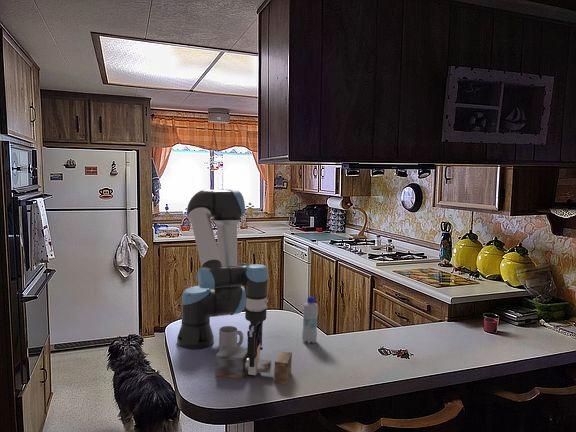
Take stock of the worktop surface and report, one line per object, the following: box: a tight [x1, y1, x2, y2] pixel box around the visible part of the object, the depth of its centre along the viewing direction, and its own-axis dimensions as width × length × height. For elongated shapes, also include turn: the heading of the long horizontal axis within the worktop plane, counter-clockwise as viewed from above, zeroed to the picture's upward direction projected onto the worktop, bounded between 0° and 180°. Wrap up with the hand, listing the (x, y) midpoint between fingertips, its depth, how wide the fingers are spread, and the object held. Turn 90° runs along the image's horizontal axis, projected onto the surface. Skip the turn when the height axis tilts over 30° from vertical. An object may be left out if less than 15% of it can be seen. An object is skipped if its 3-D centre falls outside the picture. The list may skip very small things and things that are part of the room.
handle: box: [244, 342, 273, 375], centre depth 156 cm, size 18×5×10 cm, turn 80°
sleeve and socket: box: [214, 346, 293, 385], centre depth 156 cm, size 26×9×8 cm, turn 80°
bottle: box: [302, 296, 319, 345], centre depth 187 cm, size 7×7×20 cm
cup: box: [218, 325, 244, 352], centre depth 175 cm, size 7×10×9 cm
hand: (254, 370), depth 156 cm, fingers closed on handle, 5 cm apart
